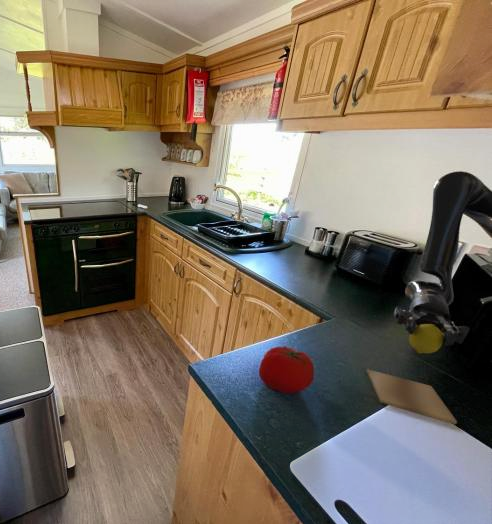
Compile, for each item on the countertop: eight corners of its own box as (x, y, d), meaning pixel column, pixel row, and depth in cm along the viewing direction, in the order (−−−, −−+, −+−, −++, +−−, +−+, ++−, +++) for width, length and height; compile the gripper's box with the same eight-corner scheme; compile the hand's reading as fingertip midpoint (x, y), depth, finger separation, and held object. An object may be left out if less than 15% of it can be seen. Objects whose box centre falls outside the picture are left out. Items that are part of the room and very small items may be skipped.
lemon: (399, 349, 71) (412, 321, 68) (410, 343, 73) (423, 316, 70) (428, 363, 66) (443, 333, 63) (438, 356, 69) (453, 328, 66)
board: (430, 388, 75) (431, 385, 74) (456, 424, 64) (457, 422, 64) (365, 371, 79) (366, 368, 79) (380, 402, 69) (381, 399, 69)
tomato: (247, 370, 77) (255, 337, 73) (291, 369, 78) (301, 337, 75) (268, 404, 66) (278, 368, 63) (319, 402, 68) (332, 367, 64)
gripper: (399, 289, 81) (395, 309, 69) (474, 309, 72) (483, 336, 60) (390, 312, 83) (384, 336, 72) (460, 334, 74) (467, 365, 63)
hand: (429, 336), depth 66 cm, fingers closed on lemon, 5 cm apart
